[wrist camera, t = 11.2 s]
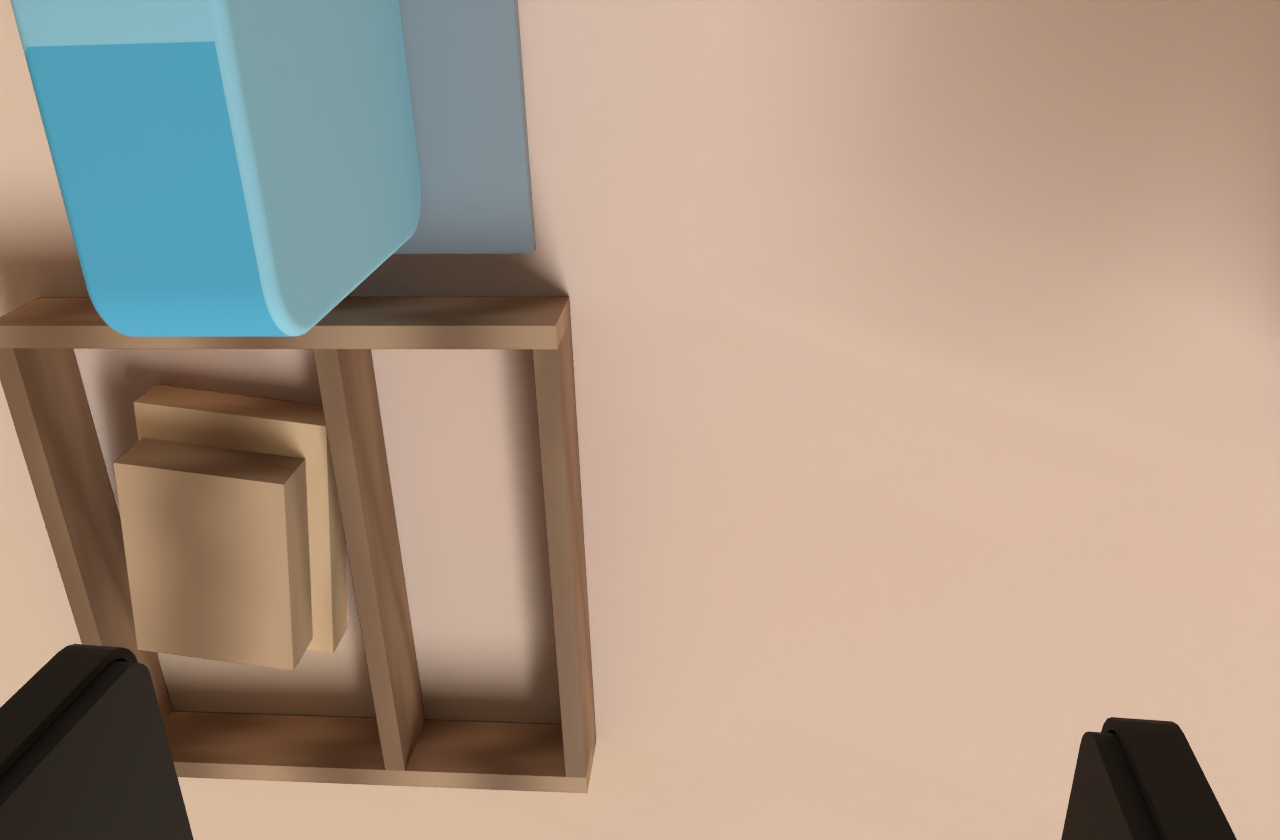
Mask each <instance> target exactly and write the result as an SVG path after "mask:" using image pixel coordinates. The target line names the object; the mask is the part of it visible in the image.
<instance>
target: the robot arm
mask: <svg viewBox="0 0 1280 840" xmlns="http://www.w3.org/2000/svg"><path fill="white" fill-rule="evenodd" d="M0 840H193V836H192V832H191V828H190V824H189V820H188V817H187V813H186V809H185V805H184V801H183V797H182V793H181V790H180V786H179V782H178V778H177V774H176V770H175V766H174V763H173V759H172V755H171V751H170V747H169V743H168V739H167V736H166V732H165V728H164V724H163V720H162V716H161V712H160V709H159V705H158V701H157V697H156V693H155V689H154V685H153V682H152V678H151V674H150V672H149V670H148V668H147V667H146V666H145V665H144V664H141V663H138V661H137V659H136V656H135V655H134V654H133V653H132V652H131V651H130V650H129V649H126V648H123V647H110V646H96V645H82V644H73V645H69V646H66V647H65V648H64V649H62V650H61V651H59V652H58V653H57V654H56V655H55V656H54V657H53V658H52V659H51V660H50V661H49V662H48V663H47V664H45V665H44V666H43V667H42V668H41V669H40V670H39V671H38V672H37V673H36V674H35V675H34V676H33V677H32V678H31V679H30V680H29V681H28V682H27V683H26V684H25V685H24V686H23V687H22V688H21V689H19V690H18V691H17V692H16V693H15V694H14V695H13V696H12V697H11V698H10V699H9V700H8V701H7V702H6V703H5V704H4V705H3V706H2V707H1V708H0ZM1061 840H1237V839H1236V837H1235V835H1234V833H1233V831H1232V829H1231V827H1230V825H1229V823H1228V821H1227V819H1226V817H1225V815H1224V813H1223V811H1222V809H1221V807H1220V805H1219V803H1218V801H1217V799H1216V797H1215V795H1214V793H1213V791H1212V789H1211V787H1210V785H1209V783H1208V781H1207V779H1206V777H1205V775H1204V773H1203V771H1202V769H1201V767H1200V765H1199V763H1198V761H1197V759H1196V757H1195V755H1194V753H1193V751H1192V749H1191V747H1190V745H1189V743H1188V741H1187V739H1186V737H1185V735H1184V733H1183V732H1182V730H1181V729H1180V727H1179V726H1178V725H1177V724H1176V723H1174V722H1171V721H1156V720H1142V719H1128V718H1114V717H1111V718H1108V719H1107V720H1106V722H1105V723H1104V725H1103V728H1102V731H1101V733H1099V732H1086V733H1085V734H1084V735H1083V737H1082V740H1081V744H1080V749H1079V754H1078V759H1077V764H1076V769H1075V774H1074V779H1073V784H1072V789H1071V794H1070V799H1069V804H1068V809H1067V814H1066V819H1065V824H1064V829H1063V834H1062V839H1061Z"/></svg>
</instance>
